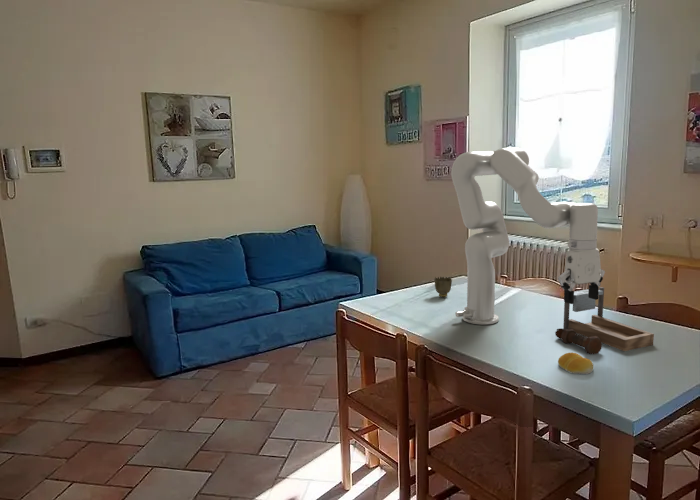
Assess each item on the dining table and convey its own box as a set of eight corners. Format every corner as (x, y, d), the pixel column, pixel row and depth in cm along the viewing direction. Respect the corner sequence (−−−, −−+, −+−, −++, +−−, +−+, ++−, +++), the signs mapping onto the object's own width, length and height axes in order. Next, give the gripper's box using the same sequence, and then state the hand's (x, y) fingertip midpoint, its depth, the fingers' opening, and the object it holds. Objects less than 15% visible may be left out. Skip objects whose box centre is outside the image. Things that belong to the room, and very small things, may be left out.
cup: (453, 298, 213) (453, 280, 212) (435, 299, 213) (435, 280, 212) (450, 294, 220) (450, 276, 219) (433, 294, 220) (433, 276, 219)
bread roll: (577, 377, 135) (577, 363, 134) (552, 365, 143) (553, 352, 143) (601, 372, 138) (601, 358, 137) (575, 360, 146) (576, 347, 145)
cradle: (618, 352, 150) (621, 310, 148) (562, 330, 171) (563, 292, 168) (658, 343, 156) (661, 302, 154) (599, 323, 177) (601, 287, 174)
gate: (574, 313, 168) (575, 295, 167) (565, 310, 171) (566, 292, 170) (602, 308, 172) (603, 291, 171) (592, 305, 176) (593, 288, 175)
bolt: (560, 343, 165) (596, 358, 150) (549, 337, 163) (585, 352, 149) (567, 327, 165) (605, 340, 151) (556, 321, 163) (593, 334, 149)
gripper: (569, 249, 145) (568, 307, 148) (614, 243, 152) (612, 299, 154) (550, 246, 152) (549, 301, 155) (594, 240, 159) (592, 294, 161)
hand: (581, 300), depth 155 cm, fingers open, 9 cm apart
